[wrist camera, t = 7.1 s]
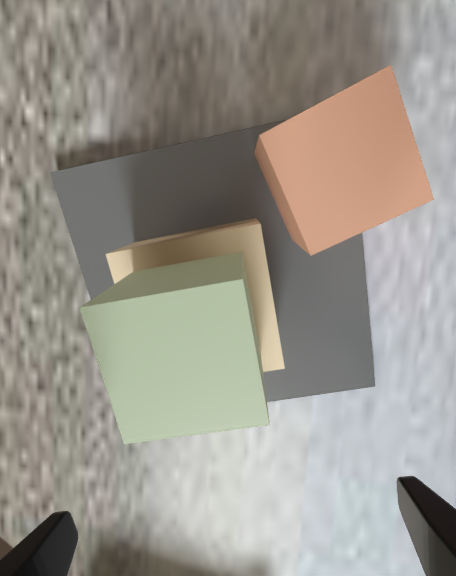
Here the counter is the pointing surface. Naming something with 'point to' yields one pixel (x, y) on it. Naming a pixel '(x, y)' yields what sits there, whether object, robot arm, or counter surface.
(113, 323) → the pale green cube
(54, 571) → the robot arm
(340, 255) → the slate tile
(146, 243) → the maple brick
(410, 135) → the salmon pink cube
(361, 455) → the counter surface
